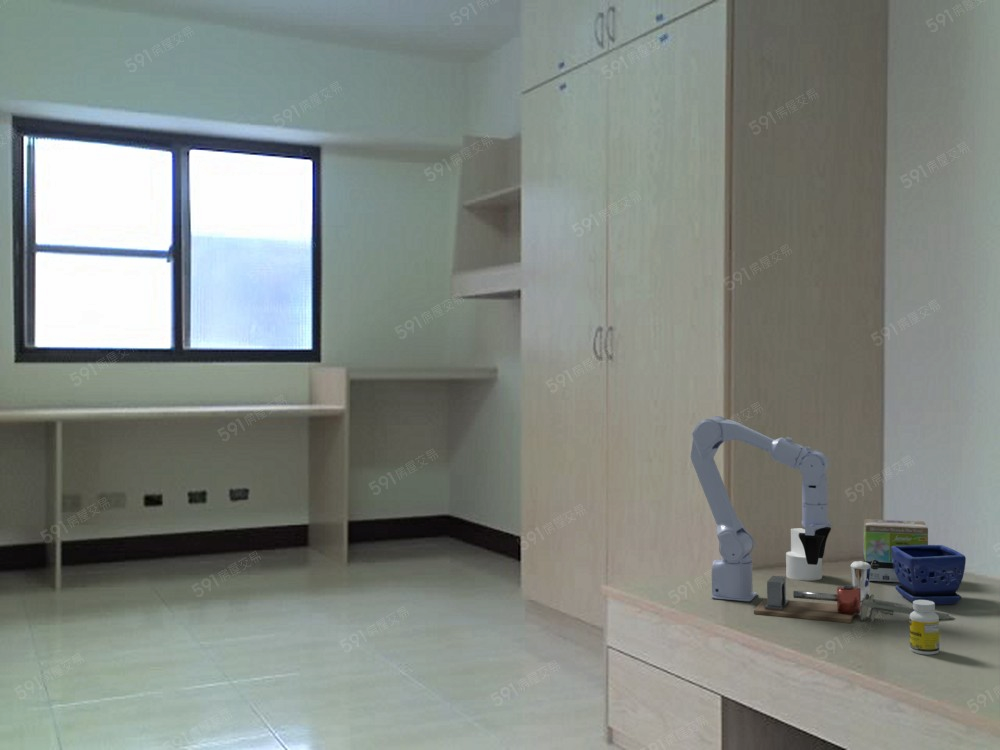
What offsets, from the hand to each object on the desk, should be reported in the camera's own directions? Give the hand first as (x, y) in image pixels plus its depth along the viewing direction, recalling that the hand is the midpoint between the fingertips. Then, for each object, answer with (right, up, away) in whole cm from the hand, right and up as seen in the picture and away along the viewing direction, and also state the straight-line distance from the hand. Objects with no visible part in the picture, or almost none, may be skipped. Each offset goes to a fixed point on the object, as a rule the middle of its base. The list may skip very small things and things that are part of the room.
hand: (815, 561), depth 240 cm
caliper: (+16, -11, -14) cm, 24 cm away
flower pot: (+27, -10, +2) cm, 29 cm away
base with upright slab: (+6, -10, +29) cm, 31 cm away
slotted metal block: (-10, -10, -3) cm, 14 cm away
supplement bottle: (+10, -11, -37) cm, 40 cm away
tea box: (+28, -9, +24) cm, 38 cm away
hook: (0, -9, -8) cm, 12 cm away
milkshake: (+12, -10, +4) cm, 16 cm away
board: (-4, -11, -6) cm, 13 cm away
